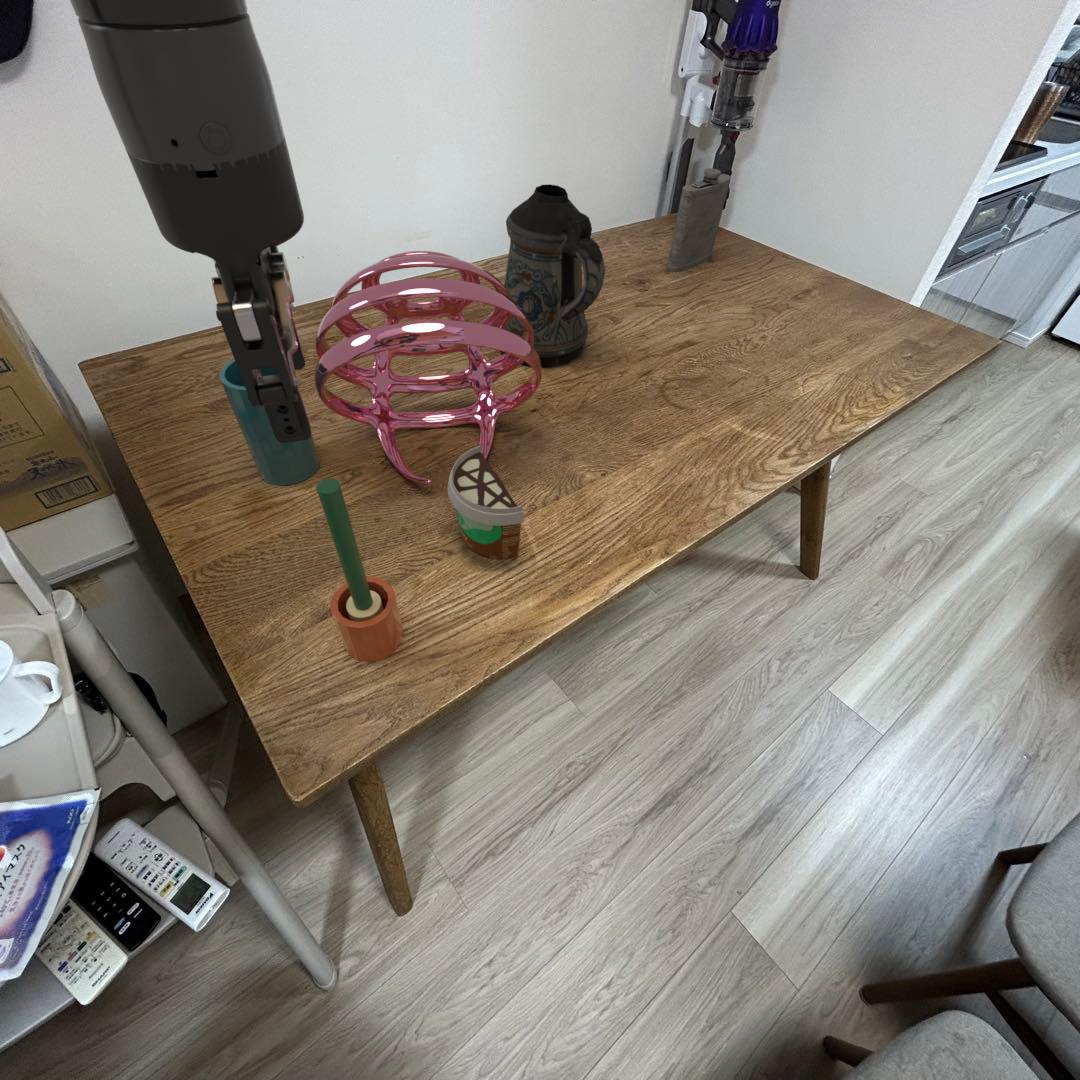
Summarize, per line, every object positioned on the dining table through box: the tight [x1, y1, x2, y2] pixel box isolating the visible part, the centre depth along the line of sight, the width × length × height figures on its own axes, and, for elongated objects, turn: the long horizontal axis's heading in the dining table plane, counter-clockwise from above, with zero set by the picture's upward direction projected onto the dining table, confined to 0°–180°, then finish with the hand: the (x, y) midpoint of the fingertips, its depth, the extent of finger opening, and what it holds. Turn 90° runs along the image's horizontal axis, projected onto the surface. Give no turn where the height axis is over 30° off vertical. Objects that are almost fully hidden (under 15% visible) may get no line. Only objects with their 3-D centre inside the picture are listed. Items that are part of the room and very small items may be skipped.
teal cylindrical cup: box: [218, 358, 321, 486], centre depth 77 cm, size 8×8×15 cm
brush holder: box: [330, 575, 404, 663], centre depth 62 cm, size 6×6×7 cm
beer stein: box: [499, 184, 606, 369], centre depth 96 cm, size 16×19×25 cm
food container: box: [447, 445, 525, 560], centre depth 71 cm, size 12×6×10 cm, turn 27°
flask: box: [666, 167, 732, 273], centre depth 124 cm, size 4×14×18 cm, turn 134°
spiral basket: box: [314, 250, 543, 486], centre depth 76 cm, size 28×28×27 cm
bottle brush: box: [315, 477, 384, 622], centre depth 56 cm, size 3×3×22 cm
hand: (293, 401), depth 42 cm, fingers open, 8 cm apart
